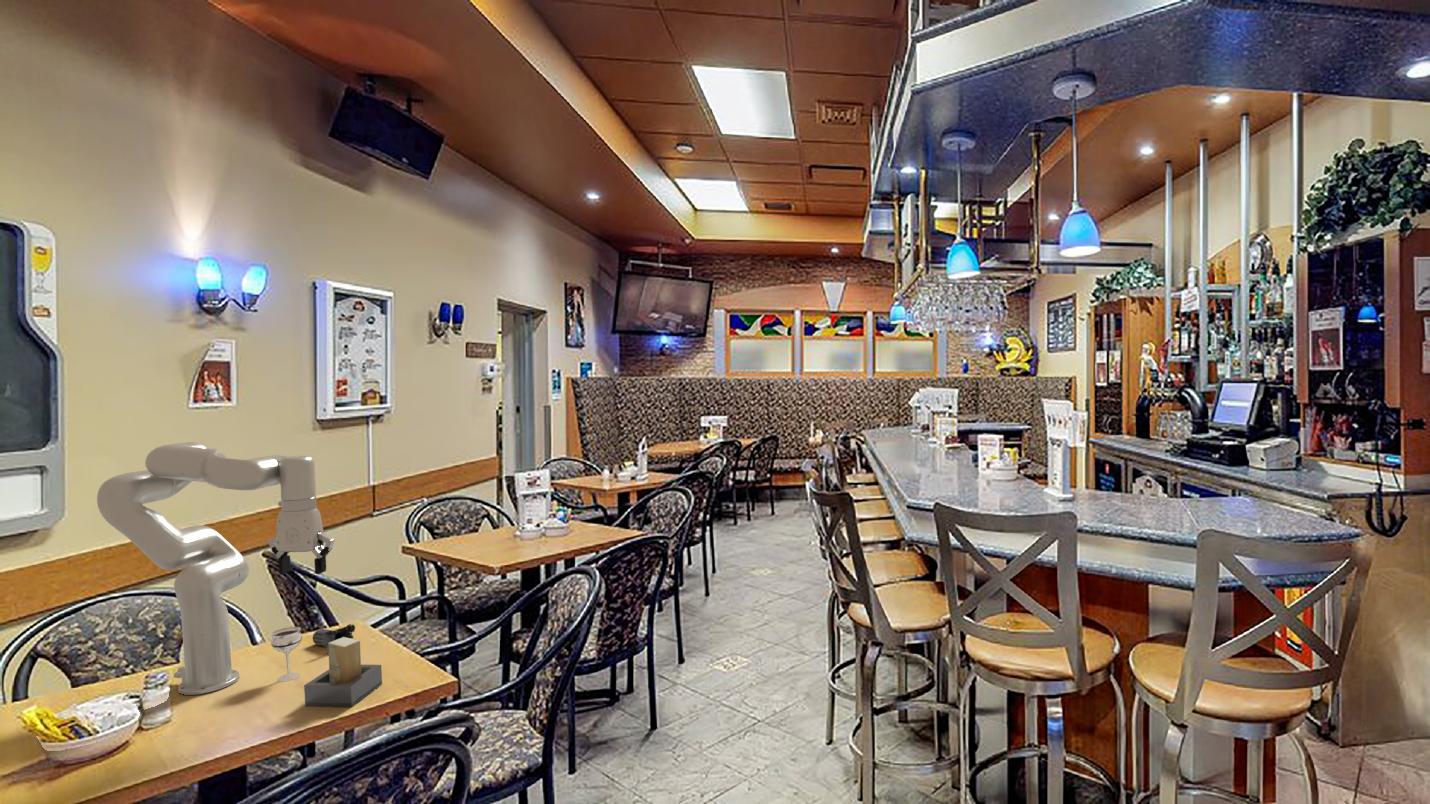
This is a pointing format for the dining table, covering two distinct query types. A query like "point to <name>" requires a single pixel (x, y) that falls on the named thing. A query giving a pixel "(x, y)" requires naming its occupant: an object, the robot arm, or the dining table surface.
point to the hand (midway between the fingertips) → (302, 572)
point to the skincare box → (344, 660)
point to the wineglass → (286, 646)
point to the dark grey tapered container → (332, 635)
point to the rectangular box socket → (342, 688)
